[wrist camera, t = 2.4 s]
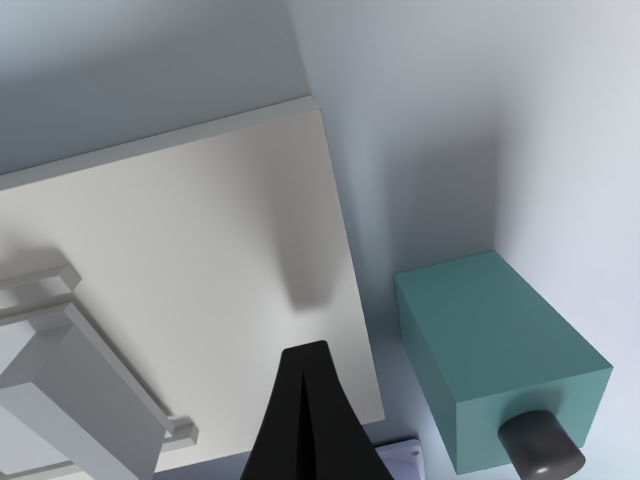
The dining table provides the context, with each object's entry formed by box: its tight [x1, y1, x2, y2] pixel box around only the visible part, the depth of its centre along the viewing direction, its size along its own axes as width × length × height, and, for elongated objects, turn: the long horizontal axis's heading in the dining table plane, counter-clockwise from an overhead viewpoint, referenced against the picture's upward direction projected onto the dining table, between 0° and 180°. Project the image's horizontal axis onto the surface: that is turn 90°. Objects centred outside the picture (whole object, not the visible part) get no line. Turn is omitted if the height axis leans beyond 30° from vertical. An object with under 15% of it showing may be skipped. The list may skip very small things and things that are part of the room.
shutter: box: [0, 302, 175, 480], centre depth 11 cm, size 7×7×2 cm
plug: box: [394, 250, 613, 480], centre depth 12 cm, size 4×4×7 cm
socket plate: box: [0, 95, 385, 480], centre depth 13 cm, size 14×24×3 cm, turn 103°
